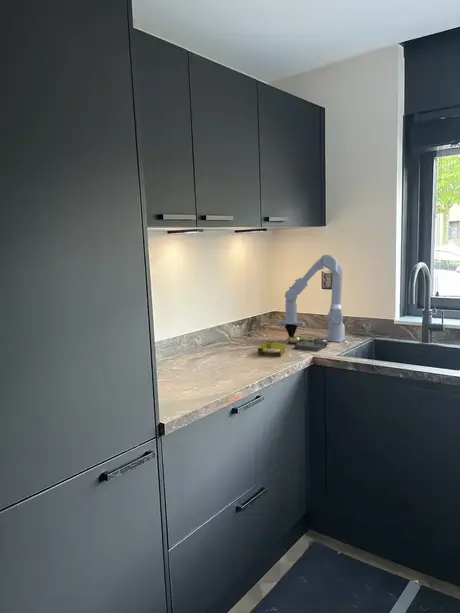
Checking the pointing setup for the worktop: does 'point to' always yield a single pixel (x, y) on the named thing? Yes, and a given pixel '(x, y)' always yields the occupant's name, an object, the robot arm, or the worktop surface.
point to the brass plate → (301, 339)
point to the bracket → (271, 347)
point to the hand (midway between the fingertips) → (291, 338)
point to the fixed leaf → (312, 345)
